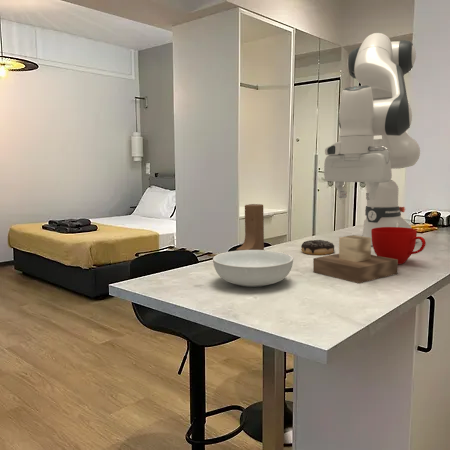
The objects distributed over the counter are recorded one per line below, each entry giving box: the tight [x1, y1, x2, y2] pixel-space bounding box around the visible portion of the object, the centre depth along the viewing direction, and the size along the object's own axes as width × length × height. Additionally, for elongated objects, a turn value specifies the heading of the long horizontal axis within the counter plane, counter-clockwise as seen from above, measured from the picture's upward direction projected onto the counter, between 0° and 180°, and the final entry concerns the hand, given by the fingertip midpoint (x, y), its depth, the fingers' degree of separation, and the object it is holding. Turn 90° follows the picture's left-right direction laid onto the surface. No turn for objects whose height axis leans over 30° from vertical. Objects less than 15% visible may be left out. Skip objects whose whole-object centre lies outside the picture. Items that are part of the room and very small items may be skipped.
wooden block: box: [236, 203, 265, 251], centre depth 144 cm, size 9×4×18 cm, turn 138°
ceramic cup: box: [371, 227, 427, 265], centre depth 136 cm, size 13×17×10 cm
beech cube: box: [338, 234, 372, 262], centre depth 124 cm, size 6×6×6 cm
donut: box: [300, 239, 335, 256], centre depth 156 cm, size 11×12×4 cm
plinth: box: [312, 253, 399, 284], centre depth 125 cm, size 16×16×4 cm
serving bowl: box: [212, 249, 294, 288], centre depth 117 cm, size 21×21×7 cm
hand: (356, 198), depth 123 cm, fingers open, 8 cm apart
